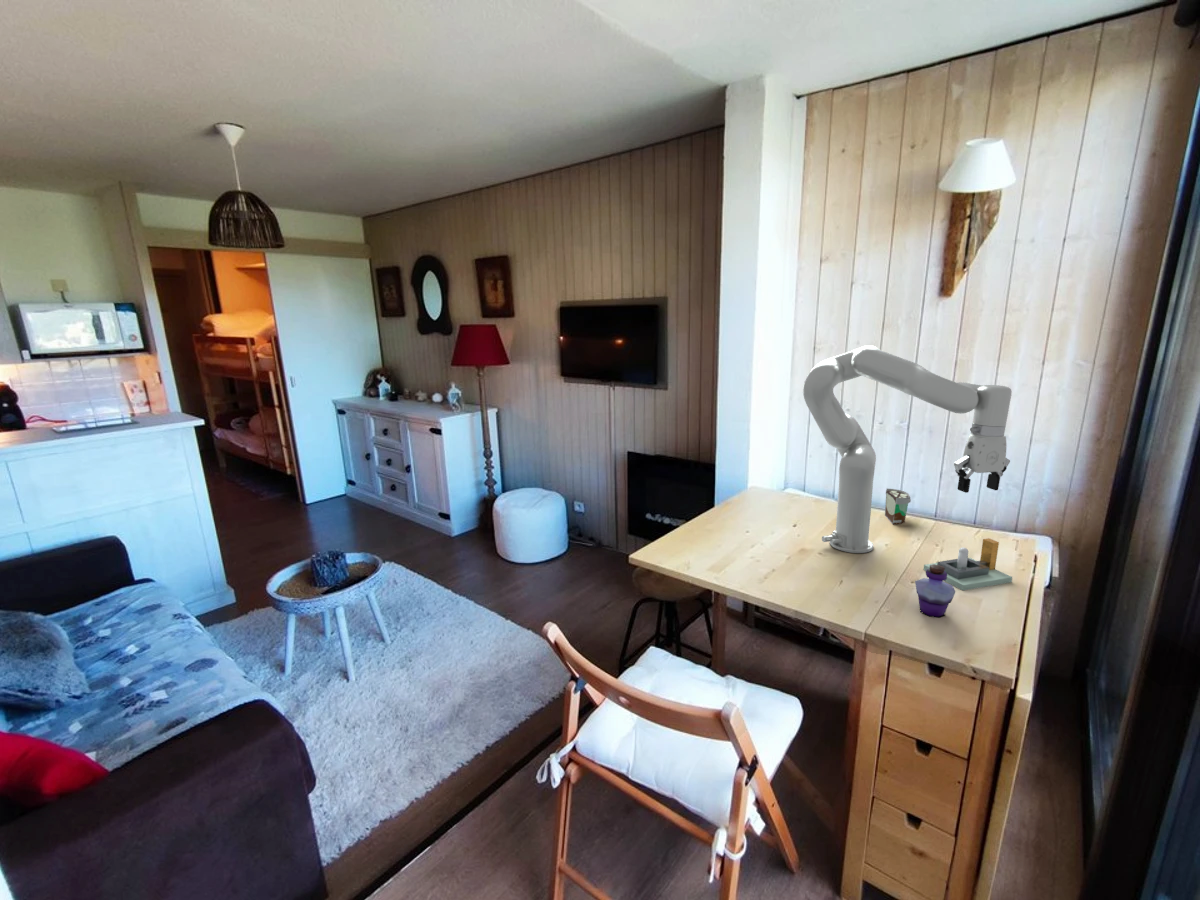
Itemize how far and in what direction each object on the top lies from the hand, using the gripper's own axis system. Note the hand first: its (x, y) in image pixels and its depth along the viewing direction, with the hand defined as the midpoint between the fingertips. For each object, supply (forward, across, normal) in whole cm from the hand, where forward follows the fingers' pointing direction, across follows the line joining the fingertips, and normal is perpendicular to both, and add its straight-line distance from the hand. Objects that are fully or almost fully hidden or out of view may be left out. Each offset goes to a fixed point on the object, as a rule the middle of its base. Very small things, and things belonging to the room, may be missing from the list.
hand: (977, 490), depth 154 cm
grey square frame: (+21, -6, -7) cm, 23 cm away
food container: (+23, +6, +34) cm, 42 cm away
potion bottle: (+23, -30, -21) cm, 43 cm away
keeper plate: (+22, -6, -7) cm, 24 cm away
